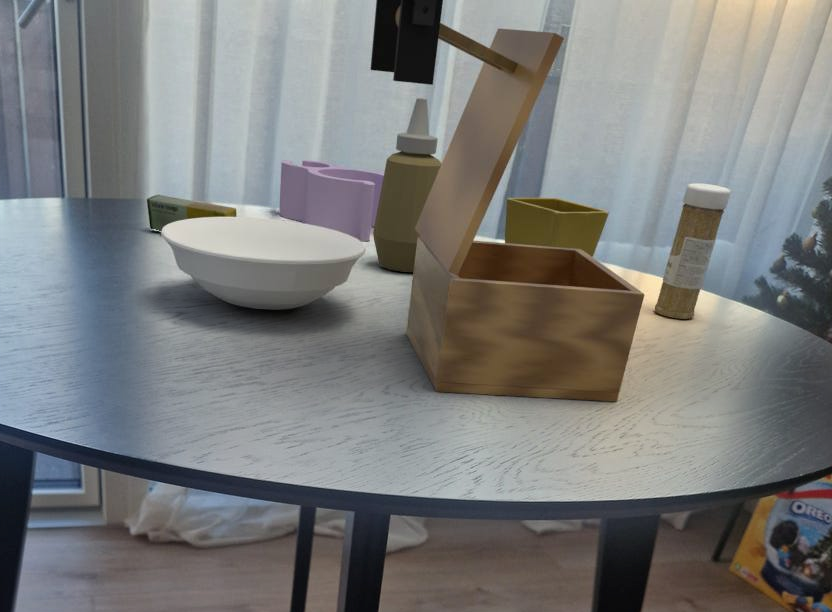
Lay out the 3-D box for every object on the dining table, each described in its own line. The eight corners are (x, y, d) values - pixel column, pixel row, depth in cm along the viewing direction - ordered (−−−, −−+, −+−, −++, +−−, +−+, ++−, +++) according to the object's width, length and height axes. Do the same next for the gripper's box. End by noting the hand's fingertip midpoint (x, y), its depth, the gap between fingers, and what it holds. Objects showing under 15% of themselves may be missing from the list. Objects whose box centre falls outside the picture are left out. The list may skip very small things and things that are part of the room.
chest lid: (506, 32, 76) (399, -25, 73) (564, 37, 62) (435, -32, 60) (422, 232, 84) (322, 188, 81) (457, 275, 71) (339, 224, 68)
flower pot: (541, 273, 118) (556, 196, 113) (592, 290, 112) (611, 210, 107) (491, 277, 113) (505, 197, 108) (543, 295, 108) (559, 212, 103)
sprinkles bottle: (653, 307, 108) (687, 180, 101) (693, 313, 107) (730, 186, 100) (653, 316, 104) (688, 185, 97) (694, 322, 103) (732, 191, 96)
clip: (258, 213, 135) (260, 160, 131) (322, 209, 142) (325, 159, 138) (352, 242, 123) (357, 185, 119) (416, 236, 131) (422, 183, 127)
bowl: (318, 279, 104) (322, 218, 101) (391, 330, 89) (399, 261, 86) (142, 279, 97) (140, 213, 93) (190, 335, 82) (190, 260, 79)
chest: (560, 343, 91) (581, 248, 86) (617, 402, 78) (645, 294, 73) (405, 333, 89) (417, 235, 84) (435, 391, 76) (452, 279, 71)
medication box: (148, 232, 117) (144, 197, 115) (161, 227, 119) (157, 193, 117) (227, 246, 113) (225, 211, 111) (239, 241, 115) (238, 206, 112)
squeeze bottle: (381, 257, 117) (397, 93, 107) (442, 267, 115) (465, 102, 105) (360, 268, 111) (376, 95, 101) (425, 279, 109) (447, 104, 99)
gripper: (359, -275, 68) (335, 63, 80) (411, -398, 47) (369, 82, 59) (458, -260, 69) (420, 72, 81) (551, -373, 48) (482, 94, 60)
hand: (398, 77), depth 70 cm, fingers open, 13 cm apart
